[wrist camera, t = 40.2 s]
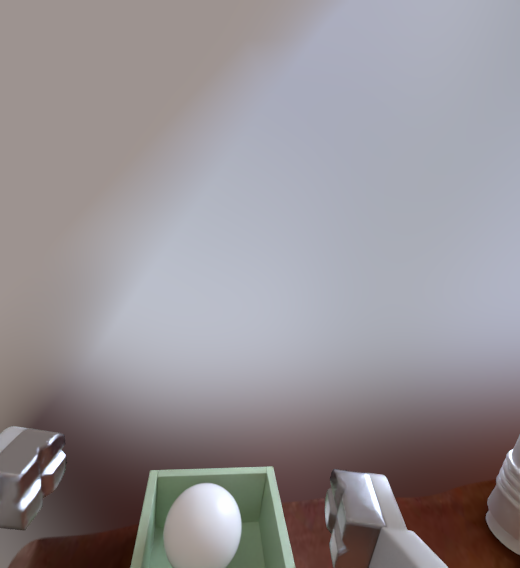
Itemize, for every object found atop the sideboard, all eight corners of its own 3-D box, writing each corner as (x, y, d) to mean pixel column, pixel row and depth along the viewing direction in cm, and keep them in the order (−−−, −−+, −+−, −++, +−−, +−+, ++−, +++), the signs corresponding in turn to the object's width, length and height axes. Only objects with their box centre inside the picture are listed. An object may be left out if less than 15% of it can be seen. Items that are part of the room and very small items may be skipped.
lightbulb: (161, 559, 31) (165, 470, 27) (226, 547, 32) (237, 461, 29) (158, 649, 25) (163, 549, 22) (238, 628, 27) (253, 533, 23)
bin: (116, 712, 22) (114, 641, 20) (148, 528, 34) (150, 469, 32) (289, 685, 25) (306, 618, 22) (263, 521, 36) (272, 466, 34)
